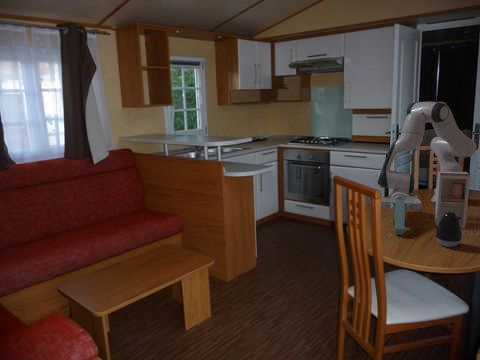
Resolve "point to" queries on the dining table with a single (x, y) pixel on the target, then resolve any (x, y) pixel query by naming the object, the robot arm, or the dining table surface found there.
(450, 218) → the black roly-poly toy
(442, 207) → the shelf unit
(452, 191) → the terracotta jar
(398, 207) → the long teal rectangular block
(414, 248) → the dining table surface
